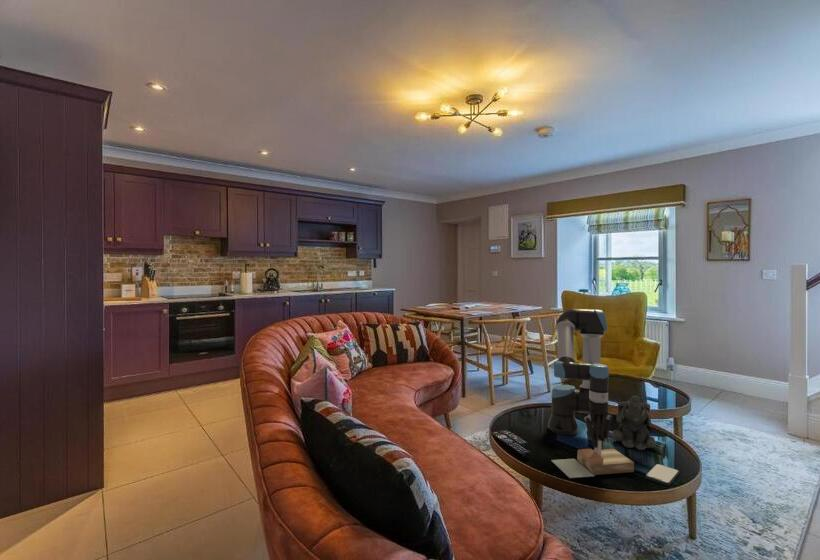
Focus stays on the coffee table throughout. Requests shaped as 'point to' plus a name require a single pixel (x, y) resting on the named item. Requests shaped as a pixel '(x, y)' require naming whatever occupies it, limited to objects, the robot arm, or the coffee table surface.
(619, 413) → the stuffed elephant
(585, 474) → the mat
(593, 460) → the salmon orange slab
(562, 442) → the coffee table surface
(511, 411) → the coffee table surface
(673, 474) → the phone case
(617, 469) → the wooden block
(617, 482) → the coffee table surface
